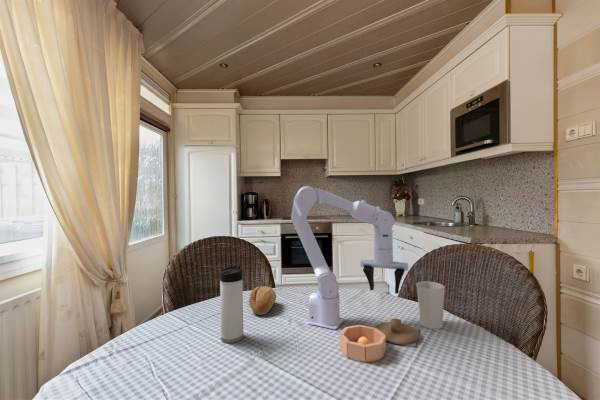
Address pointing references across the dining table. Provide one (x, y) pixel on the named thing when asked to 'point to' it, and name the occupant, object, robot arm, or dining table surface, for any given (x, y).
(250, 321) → the dining table surface
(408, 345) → the mat
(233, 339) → the travel mug
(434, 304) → the cup
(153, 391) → the dining table surface
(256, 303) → the bread roll
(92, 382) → the dining table surface
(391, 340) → the lid
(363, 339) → the clementine
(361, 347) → the bowl
